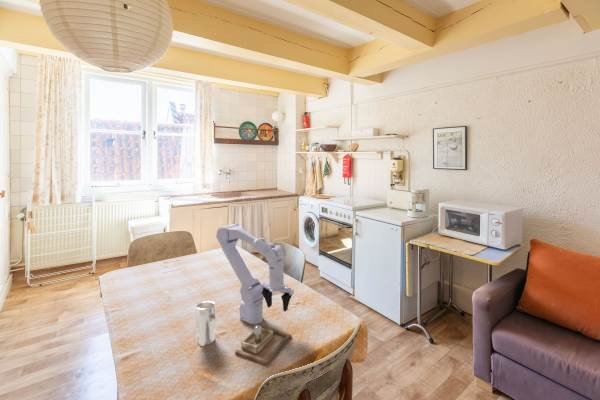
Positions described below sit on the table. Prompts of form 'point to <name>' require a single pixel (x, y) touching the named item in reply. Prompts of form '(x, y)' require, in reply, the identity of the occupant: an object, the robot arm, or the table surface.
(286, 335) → the bay
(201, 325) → the silver metal tumbler
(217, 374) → the table surface
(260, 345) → the crate
